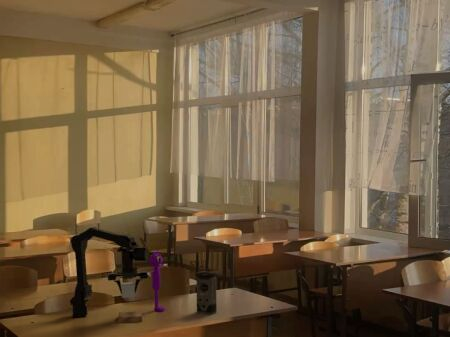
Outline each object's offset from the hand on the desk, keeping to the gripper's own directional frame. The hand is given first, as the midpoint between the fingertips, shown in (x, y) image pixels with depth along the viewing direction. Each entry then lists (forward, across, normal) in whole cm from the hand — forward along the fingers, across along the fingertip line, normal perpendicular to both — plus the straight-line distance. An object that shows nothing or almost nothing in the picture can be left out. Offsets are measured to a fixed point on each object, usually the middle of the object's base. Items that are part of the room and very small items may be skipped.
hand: (128, 293), depth 292 cm
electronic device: (+13, +38, +5) cm, 41 cm away
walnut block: (+12, +1, -1) cm, 13 cm away
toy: (+12, +14, +14) cm, 24 cm away
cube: (+1, 0, 0) cm, 1 cm away
